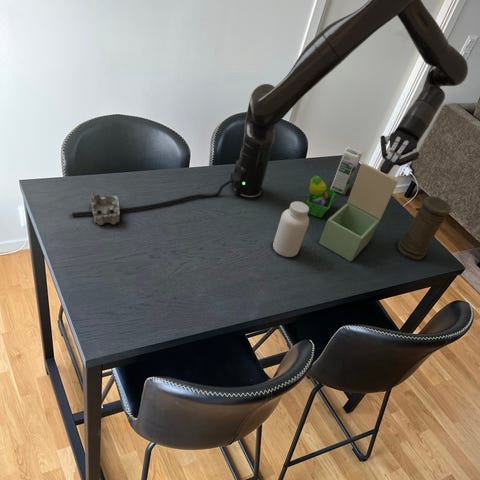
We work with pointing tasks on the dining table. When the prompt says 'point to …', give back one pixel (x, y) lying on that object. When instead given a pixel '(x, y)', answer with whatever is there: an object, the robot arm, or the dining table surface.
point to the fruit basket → (319, 197)
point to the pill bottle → (291, 229)
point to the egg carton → (105, 209)
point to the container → (424, 227)
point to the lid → (372, 190)
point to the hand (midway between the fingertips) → (382, 173)
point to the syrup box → (346, 170)
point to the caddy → (348, 231)
